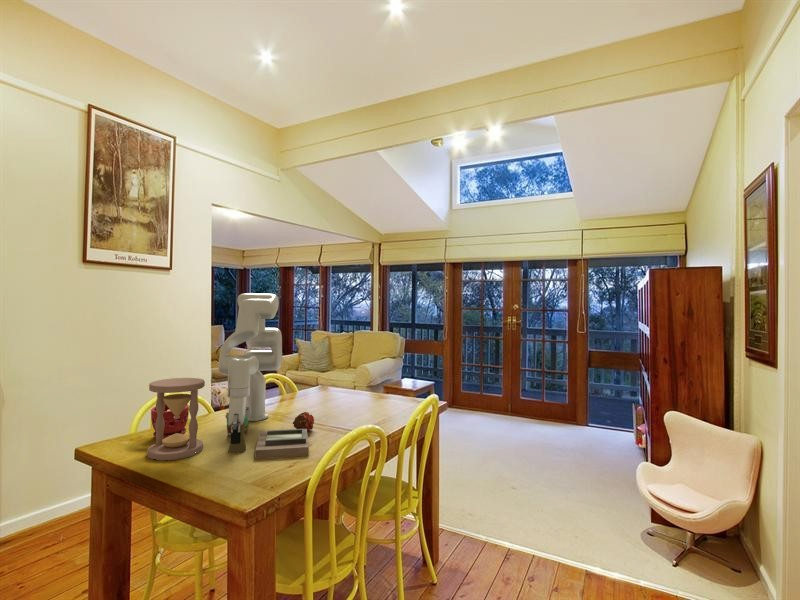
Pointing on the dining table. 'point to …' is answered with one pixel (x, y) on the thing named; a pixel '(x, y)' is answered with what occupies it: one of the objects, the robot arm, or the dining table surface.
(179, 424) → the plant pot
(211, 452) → the dining table surface
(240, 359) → the robot arm
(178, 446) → the hourglass
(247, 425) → the food container
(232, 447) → the brown rounded bulbous piece
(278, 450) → the dock
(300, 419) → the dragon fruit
